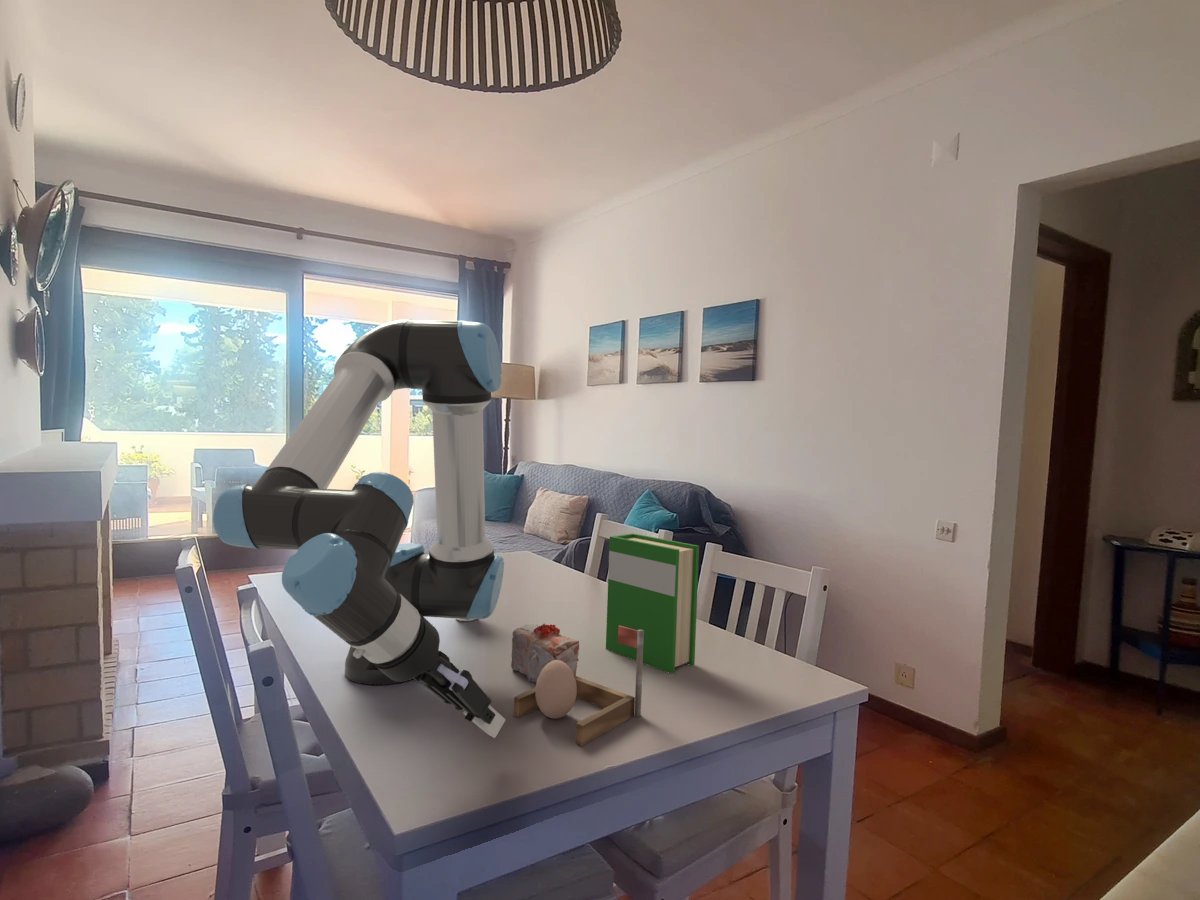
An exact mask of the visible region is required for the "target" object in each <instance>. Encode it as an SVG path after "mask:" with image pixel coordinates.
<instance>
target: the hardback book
mask: <svg viewBox="0 0 1200 900" xmlns="http://www.w3.org/2000/svg"><path fill="white" fill-rule="evenodd" d="M608 543H609V549H608V574H607V577H608V578H607V599H606V600H607V602H606V603H607V605H606V606H607V607H606V609H607V610H606V630H605V631H606V632H605V633H606V635H605V650H606V651H607V650H608V651H610V652H613V653H615V654H617V653H618V655H620V654H621V655H620V656H623V655H624V656H623V657H625V656H626V658H628V657H629V659H631V658H632V659H631V660H633V659H635V660H634V661H636V660H637V648H635V647H631V646H628V645H625V644H621V643H618V626H623V627H627V628H630V629H634V630H644V640H643V664H644V663H645V664H644V665H646V664H648V665H647V666H649V665H650V666H649V667H652V666H653V668H654V667H655V668H654V669H657V668H658V669H657V670H660V669H661V670H660V671H662V670H663V671H662V672H665V671H666V672H665V673H667V672H669V673H668V674H670V673H673V674H675V673H674V672H676V671H675V669H676V667H678V666H681V665H685V663H687V664H686V665H688V664H690V665H689V666H691V665H692V666H694V665H695V664H696V663H695V660H696V658H695V657H696V656H695V655H696V638H697V635H696V633H697V614H698V613H697V609H698V585H699V583H698V582H699V560H700V559H699V558H700V545H697V544H691V543H685V542H681V541H675V540H671V539H664V538H659V537H654V536H651V535H650V536H649V535H643V534H638V533H634V532H632V533H627V534H626V533H624V534H619V535H611V536H609V542H608Z"/></svg>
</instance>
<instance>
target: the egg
mask: <svg viewBox="0 0 1200 900" xmlns="http://www.w3.org/2000/svg"><path fill="white" fill-rule="evenodd" d="M535 683H536V684H535V688H536V693H535V696H536V701H537V704H538V706H539V708H538V709H539V710H540V712H542V713H543V714H544V715H545V716H546V717H548V718H550V719H561V718H563V717H565V716H566V715H568V713H569V712H570V711H571V710H572V709H573V707H574V706H575V703H576V699H577V697H576V695H577V686H576V680H575V678H574V675H573V672H572V671H571V669H570V667H569V666H568V665H567V664H566V663H564V662H563V661H560V660H554V661H551V662H549V663H548V664H547V665H546V666H545V667H544V668H543V669H542V671H541V673H540V675H539V677H538V679H537V682H535Z"/></svg>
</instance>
